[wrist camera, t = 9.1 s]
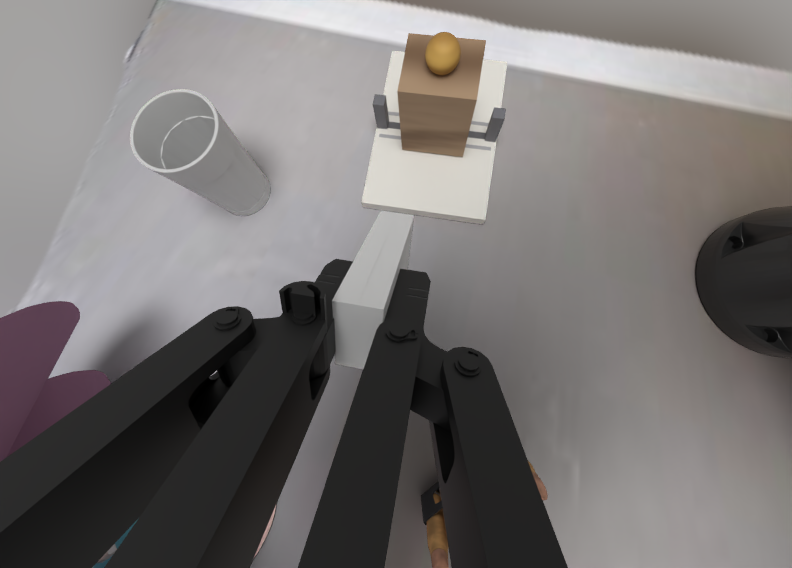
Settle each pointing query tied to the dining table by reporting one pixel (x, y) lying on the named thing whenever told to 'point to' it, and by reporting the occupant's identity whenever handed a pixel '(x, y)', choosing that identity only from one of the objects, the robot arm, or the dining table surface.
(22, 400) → the flower arrangement
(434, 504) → the ammunition clip
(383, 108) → the stand
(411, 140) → the block
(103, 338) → the dining table surface
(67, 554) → the robot arm
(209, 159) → the cup
